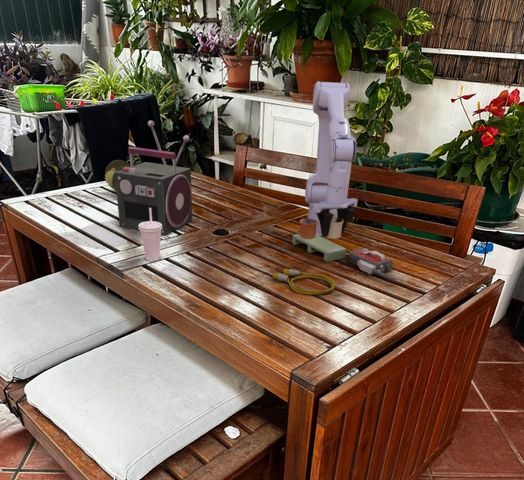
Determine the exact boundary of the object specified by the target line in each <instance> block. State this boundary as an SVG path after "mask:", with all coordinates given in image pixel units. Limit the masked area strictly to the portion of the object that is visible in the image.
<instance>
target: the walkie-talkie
mask: <svg viewBox="0 0 524 480" xmlns="http://www.w3.org/2000/svg"><path fill="white" fill-rule="evenodd" d="M344 259H347V260H348V262H349V263H351V264H353V265H355V266H357V267H358V269H359V270H360V271H362V272H365V273H367V274H368V275H373V274H374V275H377V276H380V277H382V278H384V279H388V280H391V281H393V282H397V278H396V277H393V276H391V275H388V274H387V273H384V272H387V271H388V272H389V271H391V270H392V268H393V260H391V259H389V258H387V257H386V255H385V254H384V253H380V252H379V251H378V250H369V249H368V248H362V247H359V248H354V249H352V250H349V253H346V254H345V258H344Z"/></svg>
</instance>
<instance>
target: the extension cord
mask: <svg viewBox="0 0 524 480" xmlns="http://www.w3.org/2000/svg"><path fill="white" fill-rule="evenodd" d="M295 276H296V277H295ZM289 277H293V278H291V279H289ZM308 278H311V279H318V280H321V281H325V282H327V283H329V285H330V288H328V289H323V290H312V289H311V290H310V289H304V288H299V287H297V286H296V285H295V284H294V282H295V281H298V280H301V279H308ZM272 279H274V280H277V281H280V282H287V283H288V285H289V287H290V288H291V290H293V291H294V292H296V293H299V294H302V295H309V296H311V295H313V296H314V295H315V296H317V295H323V294H328V293H330V292H331V291H333V290H334V289H335V286H336V285H335V281H334V280H333V279H332V278H331V277H328V276H326V275H323V274H320V273H319V274H318V273H313V272H312V273H310V272H300V270H296V269H292V268H291V269H290V268H286V267H285V268H283V272H282V273H280V272H279V273H278V272H273V274H272Z"/></svg>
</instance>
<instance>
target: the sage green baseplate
mask: <svg viewBox="0 0 524 480" xmlns="http://www.w3.org/2000/svg"><path fill="white" fill-rule="evenodd" d="M299 234H300V233H295V234H292V239H291V244H292V245H294V246H297V245H303V244H305V245H307V249H306V252H307V253H309V254H313V253H318V252H320V253H322V254H323V261H324V262H327V263H328V262H333V261H338V260H342V259H346V258H345V254H347V248H345V247H343V246H341V245H339V244H337V243H335V242H334V241H331V240H329V239H327V238H326V237H324V236H323V237H322V236H318V235H316V237H315V238H312V239H306V238H302V237H300V236H299Z"/></svg>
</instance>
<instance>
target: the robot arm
mask: <svg viewBox="0 0 524 480" xmlns="http://www.w3.org/2000/svg"><path fill="white" fill-rule="evenodd" d="M350 98H351V86H350V84H349V82H330V81H318V80H317V81H316V83H315V84H314V88H313V97H312V111H313V112H312V113H314V114H316V115H317V118H318V134H317V150H316V151H317V154H316V166H315V167H316V168H315V173H313V174H312V175H310V176H309V177H308V178H307V179H306V184H305V185H306V187H305V192H304V199H305V203H306V204H307V205H308V211H307V212H308V213H307V219H314V220H317V221H318V224H317V228H316V235H318V236H321V237H322V236H323V237H325V236H328V234H329V228H330V223H331V220H332V218H333V217H337V218H341V219H343V220H344V223H343V224H342V232H341V234H344V233H345V229H346V227H347V225H348V222H349V221H350V219H351V217H352V216H353V214H355V209H354V208H355V207H357V206H358V199H357V198H354V197H352V198H350V197H349V198H348V194H349V185H350V179H351V173H352V172H351V171H352V165H353V163H354V162H355V159H356V155H357V140H356V138H354V136H352V132H351V126H350V122H349V120H348V119H347V118H345V110H346V108H347V106H348V105H349V102H350Z"/></svg>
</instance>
